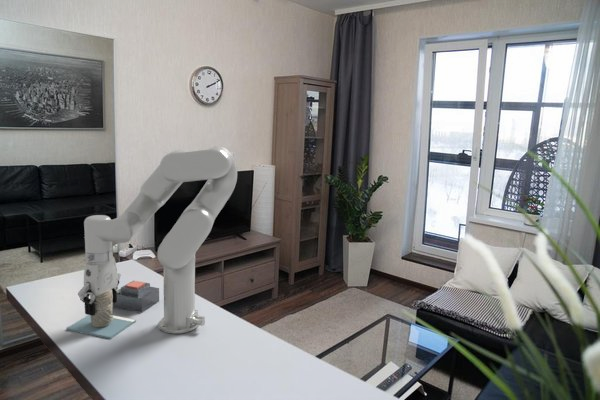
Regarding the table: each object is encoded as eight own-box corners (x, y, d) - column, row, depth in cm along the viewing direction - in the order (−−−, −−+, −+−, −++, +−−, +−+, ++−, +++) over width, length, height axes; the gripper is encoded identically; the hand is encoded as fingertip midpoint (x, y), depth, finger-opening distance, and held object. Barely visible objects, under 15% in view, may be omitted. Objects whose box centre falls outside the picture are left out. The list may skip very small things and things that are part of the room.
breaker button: (145, 288, 153) (145, 282, 152) (137, 292, 148) (137, 287, 148) (134, 286, 154) (134, 280, 153) (125, 290, 149) (125, 285, 149)
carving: (88, 330, 131) (86, 293, 129) (94, 318, 139) (93, 283, 136) (110, 329, 132) (108, 292, 130) (115, 318, 140) (114, 283, 138)
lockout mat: (136, 321, 140) (136, 319, 139) (110, 339, 128) (110, 336, 128) (94, 313, 144) (94, 311, 143) (66, 329, 132) (66, 327, 132)
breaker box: (159, 301, 155) (159, 282, 154) (142, 312, 146) (141, 293, 144) (130, 296, 158) (130, 278, 157) (112, 307, 149) (111, 288, 147)
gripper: (88, 266, 122) (91, 322, 126) (128, 249, 139) (129, 299, 142) (67, 262, 124) (70, 317, 128) (108, 246, 141) (110, 295, 144)
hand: (101, 308), depth 135 cm, fingers open, 9 cm apart
